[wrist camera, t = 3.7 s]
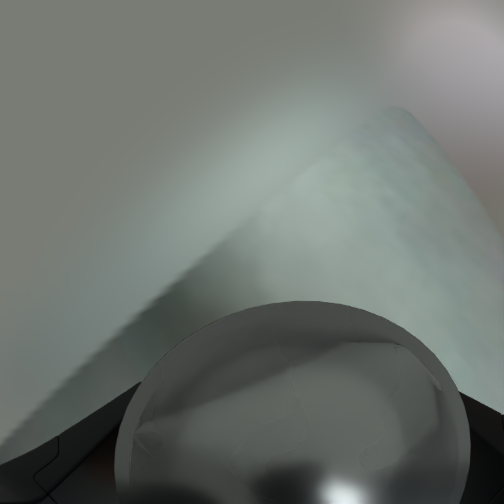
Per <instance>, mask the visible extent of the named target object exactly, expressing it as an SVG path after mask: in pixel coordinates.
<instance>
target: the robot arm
mask: <svg viewBox="0 0 504 504" xmlns="http://www.w3.org/2000/svg"><path fill="white" fill-rule="evenodd" d="M141 383H142V382H139V383H137V384H136V385H135V386H133V387H132V388H130V389H129V390H127V391H126V392H124V393H123V394H121V395H120V396H118V397H117V398H115V399H114V400H112V401H111V402H109V403H107V404H106V405H104V406H103V407H101V408H100V409H98V410H97V411H95V412H94V413H92V414H91V415H89V416H88V417H86V418H84V419H83V420H81V421H80V422H78V423H77V424H75V425H73V426H72V427H70V428H69V429H67V430H65V431H64V432H62V433H61V434H59V436H56V437H54V438H53V439H51V440H49V441H48V442H46V443H44V444H42V445H41V446H39V447H37V448H35V449H33V450H31V451H29V452H27V453H25V454H23V455H21V456H19V457H17V458H15V459H12V460H10V461H8V462H6V463H4V464H1V465H0V504H120V502H119V498H118V494H117V490H116V482H115V471H114V465H115V448H116V443H117V438H118V434H119V429H120V426H121V423H122V420H123V417H124V415H125V412H126V409H127V407H128V405H129V403H130V401H131V399H132V398H133V396H134V394H135V392H136V390H137V388H138V387H139V386H140V384H141ZM459 394H460V396H461V399H462V401H463V404H464V407H465V411H466V415H467V419H468V424H469V432H470V444H471V447H470V465H469V470H468V476H467V481H466V485H465V488H464V491H463V494H462V497H461V500H460V503H459V504H504V415H503V414H502V415H501V413H499V412H497V411H495V410H493V409H492V408H490V407H488V406H486V405H484V404H482V403H480V402H478V401H476V400H474V399H473V398H471V397H469V396H467V395H465V394H463V393H461V392H459Z"/></svg>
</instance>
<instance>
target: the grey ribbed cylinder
mask: <svg viewBox="0 0 504 504" xmlns="http://www.w3.org/2000/svg"><path fill="white" fill-rule="evenodd" d="M470 447H471V444H470V432H469V424H468V419H467V415H466V411H465V407H464V404H463V401H462V399H461V396H460V394H459V391H458V389H457V387H456V385H455V383H454V381H453V380H452V378H451V376H450V375H449V373H448V371H447V370H446V368H445V367H444V366H443V365H442V363H441V362H440V361H439V359H438V358H437V357H436V356H435V354H434V353H433V352H431V351H430V350H429V349H428V348H427V347H426V346H425V345H424V344H423V343H422V342H421V341H420V340H419V339H417V338H416V337H415V336H413V335H412V334H410V333H409V332H408V331H406V330H405V329H404V328H402V327H400V326H398V325H396V324H395V323H393V322H391V321H389V320H387V319H385V318H383V317H381V316H378V315H376V314H373V313H370V312H368V311H365V310H362V309H358V308H354V307H350V306H346V305H342V304H335V303H327V302H320V301H292V302H282V303H272V304H268V305H263V306H258V307H254V308H249V309H246V310H243V311H240V312H237V313H234V314H231V315H228V316H226V317H224V318H221V319H219V320H217V321H215V322H213V323H211V324H209V325H207V326H205V327H203V328H201V329H200V330H198V331H197V332H195V333H193V334H192V335H190V336H189V337H187V338H185V339H184V340H183V341H182V342H180V343H179V344H178V345H177V346H175V347H174V348H173V349H172V350H170V351H169V352H168V353H167V354H166V355H165V356H164V357H163V358H162V359H161V360H160V361H159V362H158V363H157V364H156V365H155V366H154V367H153V368H152V369H151V371H150V372H149V373H148V375H147V376H146V377H145V379H144V380H143V381H142V383H141V384H140V386H139V387H138V388H137V390H136V392H135V394H134V396H133V398H132V399H131V401H130V403H129V405H128V407H127V409H126V412H125V415H124V417H123V420H122V423H121V426H120V429H119V434H118V438H117V443H116V448H115V465H114V471H115V482H116V490H117V494H118V498H119V502H120V504H459V503H460V500H461V497H462V494H463V491H464V488H465V485H466V481H467V476H468V470H469V465H470Z"/></svg>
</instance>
